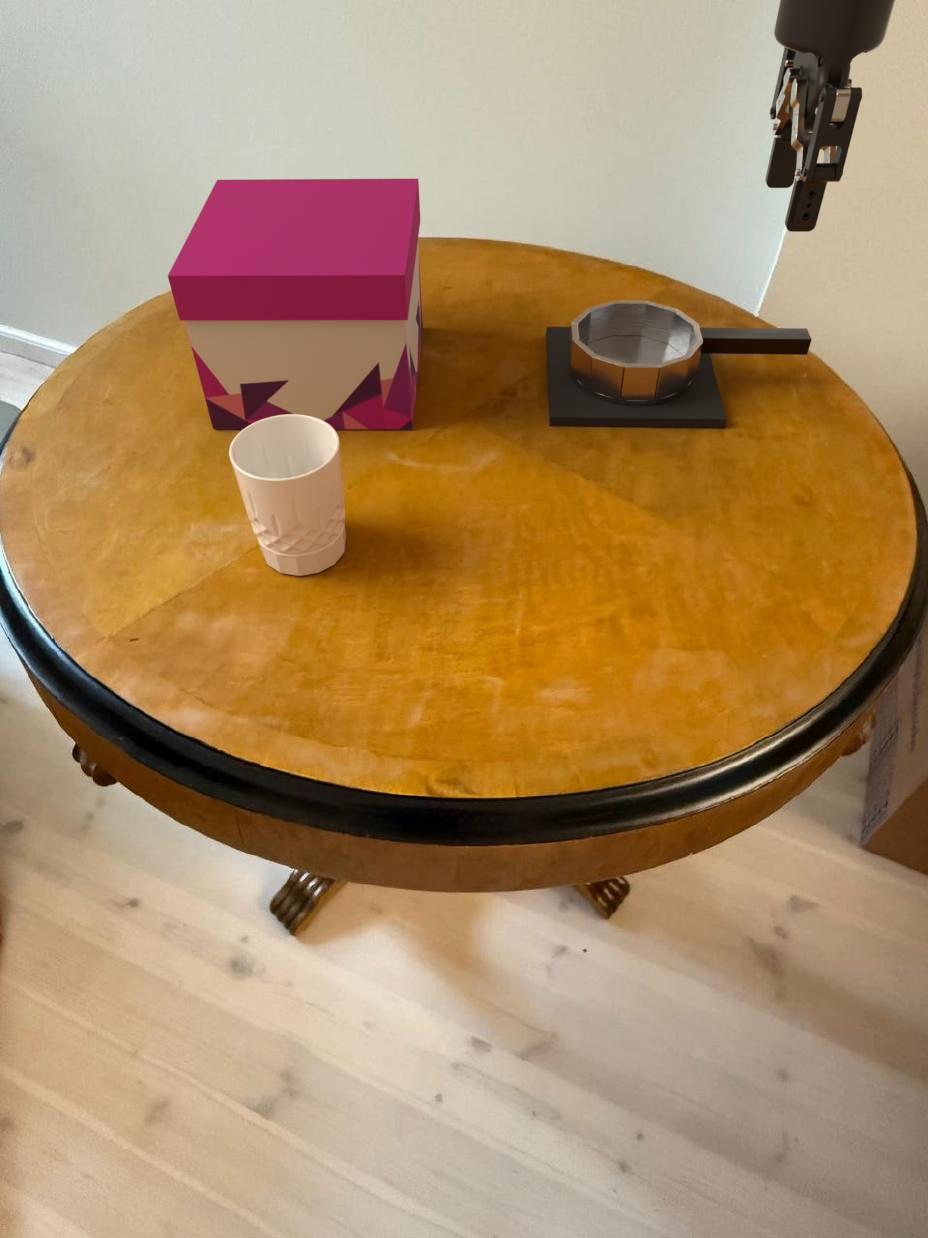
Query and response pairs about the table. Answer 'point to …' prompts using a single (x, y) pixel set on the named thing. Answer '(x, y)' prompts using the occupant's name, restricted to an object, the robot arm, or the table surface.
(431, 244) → the table surface
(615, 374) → the steel pan
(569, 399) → the trivet
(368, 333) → the decorative box
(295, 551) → the white cup
